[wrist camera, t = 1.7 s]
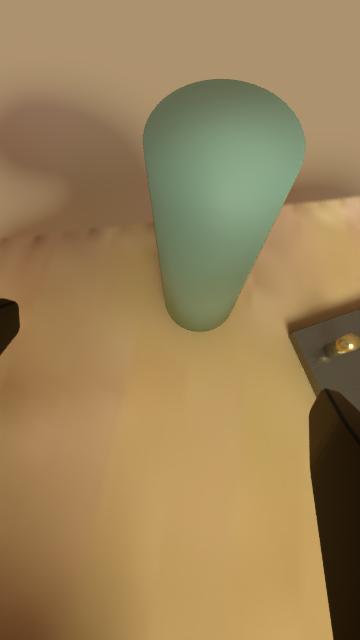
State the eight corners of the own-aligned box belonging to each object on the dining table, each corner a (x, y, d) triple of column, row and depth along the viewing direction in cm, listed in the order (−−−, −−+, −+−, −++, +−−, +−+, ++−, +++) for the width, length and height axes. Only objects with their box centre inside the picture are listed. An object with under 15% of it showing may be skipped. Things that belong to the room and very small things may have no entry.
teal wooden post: (178, 341, 22) (173, 229, 9) (156, 279, 24) (123, 101, 10) (243, 318, 23) (334, 180, 9) (218, 259, 24) (265, 64, 11)
